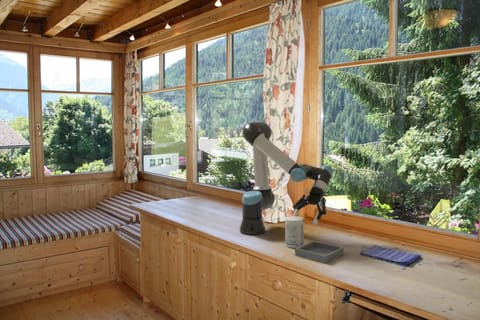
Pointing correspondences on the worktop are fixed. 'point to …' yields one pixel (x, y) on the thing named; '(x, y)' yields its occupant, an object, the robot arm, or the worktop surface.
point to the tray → (319, 251)
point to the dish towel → (390, 255)
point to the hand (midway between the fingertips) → (303, 222)
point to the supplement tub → (294, 231)
